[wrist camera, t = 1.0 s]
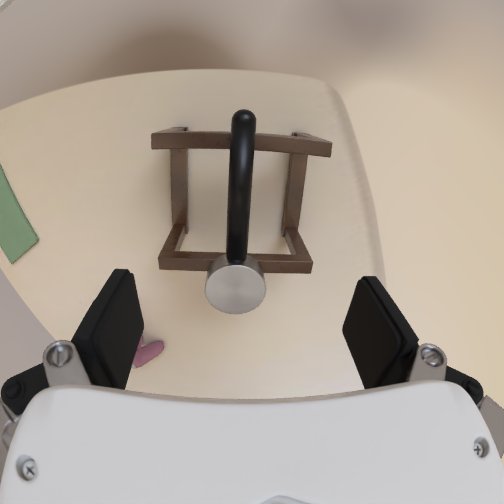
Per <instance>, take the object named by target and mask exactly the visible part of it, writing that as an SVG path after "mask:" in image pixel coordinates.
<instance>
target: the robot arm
mask: <svg viewBox="0 0 504 504" xmlns="http://www.w3.org/2000/svg"><path fill="white" fill-rule="evenodd" d="M143 330H144V322H143V317H142V313H141V309H140V304H139V299H138V295H137V290H136V285H135V279H134V275H133V273H130V272H129V270H128V269H115V270H114V271H113V272H112V274H111V275H110V277H109V279H108V280H107V282H106V283H105V285H104V286H103V288H102V290H101V291H100V293H99V294H98V296H97V298H96V299H95V300H94V301H93V303H92V305H91V306H90V308H89V310H88V311H87V313H86V315H85V317H84V318H83V320H82V322H81V324H80V325H79V327H78V329H77V331H76V333H75V334H74V336H73V338H72V340H71V342H70V341H67V340H59V341H56V342H54V343H52V344H50V345H49V346H48V347H47V348H46V350H45V351H44V353H43V363H41V364H39V365H37V366H35V367H33V368H30V369H28V370H26V371H24V372H22V373H20V374H18V375H16V376H13V377H11V378H10V379H8V380H7V381H6V382H5V383H4V385H3V387H2V389H1V397H0V504H504V467H503V464H502V461H501V458H502V456H503V453H504V409H502V407H500V406H499V405H498V404H497V403H496V402H494V401H493V400H492V399H491V398H490V397H488V396H487V395H486V396H485V397H483V389H482V386H481V385H480V383H479V382H478V381H477V380H475V379H474V378H472V377H469V376H468V375H466V374H463V373H461V372H459V371H457V370H455V369H453V368H451V367H449V366H447V358H446V355H445V353H444V352H443V351H442V350H441V349H440V348H439V347H437V346H435V345H433V344H422V345H421V346H419V345H418V343H417V342H418V340H419V339H418V337H417V336H416V334H415V333H414V331H413V330H412V328H411V326H410V325H409V323H408V322H407V320H406V319H405V317H404V316H403V314H402V313H401V311H400V310H399V308H398V307H397V305H396V304H395V303H394V301H393V299H392V298H391V297H390V295H389V294H388V292H387V291H386V289H385V288H384V287H383V285H382V284H381V282H380V281H379V280H378V278H377V277H376V276H363V277H362V278H361V280H358V282H357V285H356V288H355V292H354V295H353V298H352V301H351V304H350V307H349V310H348V313H347V316H346V318H345V321H344V324H343V328H342V331H343V335H344V337H345V340H346V342H347V345H348V347H349V350H350V352H351V355H352V357H353V360H354V362H355V365H356V367H357V370H358V372H359V375H360V378H361V380H362V383H363V385H364V388H365V389H364V390H358V391H352V392H345V393H337V394H328V395H319V396H308V397H295V398H277V399H212V398H193V397H180V396H170V395H160V394H152V393H143V392H136V391H129V390H125V387H126V384H127V380H128V377H129V373H130V370H131V367H132V364H133V360H134V357H135V354H136V351H137V348H138V345H139V342H140V339H141V336H142V333H143Z"/></svg>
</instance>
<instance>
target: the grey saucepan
mask: <svg viewBox="0 0 504 504" xmlns="http://www.w3.org/2000/svg"><path fill="white" fill-rule="evenodd" d="M255 132H256V117H255V115H254V114H253V113H252V112H251V111H249V110H245V109H242V110H239V111H237V112H236V113H235V114H234V115H233V117H232V124H231V142H230V162H229V184H228V209H227V241H226V254H224V255H222V256H220V257H218V258H217V259H215V260H214V261H213V262H212V263H211V265H210V266H209V268H208V271H207V277H206V284H205V294H206V297H207V299H208V301H209V302H210V304H211V305H212V306H213V307H215V308H216V309H218V310H220V311H222V312H225V313H229V314H242V313H246V312H249V311H251V310H253V309H255V308H256V307H257V306H259V305H260V303H261V302H262V301H263V299H264V297H265V294H266V285H265V279H264V273H263V269H262V267H261V265H260V264H259V263H258V262H257V261H256V260H255V259H254V258H253V257H251V256H249V255H247V247H248V232H249V217H250V203H251V188H252V174H253V159H254V145H255Z"/></svg>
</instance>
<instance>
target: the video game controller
mask: <svg viewBox="0 0 504 504" xmlns="http://www.w3.org/2000/svg"><path fill="white" fill-rule="evenodd" d="M142 341H143V337H142V336H141V339H140V342H139V345H138V348H137V351H136V354H135V357H134V360H133V364H132V367H131V368H138V367H141V366H143V365H144V364H146V363H147V362H149V361H150V360H152V359H153V358H155V357H156V356H158V355H159V354H160V353H161V352H162V351H163V349H164V343H163V342H154V343H151V344H148V345H146V346H144V347H142V348H141V344H142Z"/></svg>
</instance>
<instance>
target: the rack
mask: <svg viewBox="0 0 504 504" xmlns="http://www.w3.org/2000/svg"><path fill="white" fill-rule="evenodd" d="M230 142H231V132H223V131H188V127H173V128H171V129H167V130H163V131H159V132H156V133H152V134H151V148H152V149H171V200H172V222H173V228H172V230H171V232H170V234H169V236H168V238H167V240H166V242H165V244H164V246H163V248H162V250H161V252H160V254H159V257H158V261H159V269H164V270H188V271H208V268H209V266H210V265H211V263H212V262H213V261H214V260H215V259H217V258H218V257H220V256H222V255H224V254H226V253H219V252H187V251H179V250H180V247H181V245H182V242H183V239H184V236H185V234H187V233H188V149H230ZM331 149H332V142H330V141H327V140H324V139H321V138H318V137H315V136H312V135H310V134H305V133H297V132H293V134H292V136H287V135H276V134H263V133H255V145H254V150H257V151H272V152H284V153H291V155H290V164H289V174H288V183H287V192H286V201H285V210H284V218H283V226H282V236H283V237H285V239H286V242H287V245H288V247H289V250H290V253H291V255H285V254H252V253H247V255H249V256H251V257H253V258H254V259H255V260H256V261H257V262H258V263H259V264H260V265H261V267H262V269H263V273H305V274H311V270H312V265H313V261H312V259H311V256H310V255H309V253H308V251H307V249H306V246H305V244H304V242H303V240H302V238H301V236H300V234H299V232H298V225H299V218H300V211H301V204H302V197H303V189H304V181H305V173H306V165H307V157H308V155H313V156H321V157H331Z"/></svg>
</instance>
